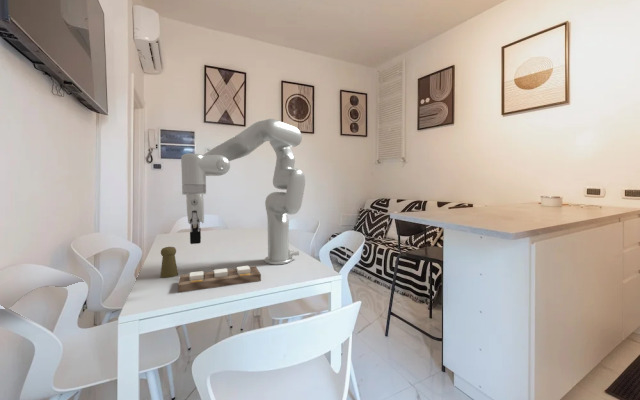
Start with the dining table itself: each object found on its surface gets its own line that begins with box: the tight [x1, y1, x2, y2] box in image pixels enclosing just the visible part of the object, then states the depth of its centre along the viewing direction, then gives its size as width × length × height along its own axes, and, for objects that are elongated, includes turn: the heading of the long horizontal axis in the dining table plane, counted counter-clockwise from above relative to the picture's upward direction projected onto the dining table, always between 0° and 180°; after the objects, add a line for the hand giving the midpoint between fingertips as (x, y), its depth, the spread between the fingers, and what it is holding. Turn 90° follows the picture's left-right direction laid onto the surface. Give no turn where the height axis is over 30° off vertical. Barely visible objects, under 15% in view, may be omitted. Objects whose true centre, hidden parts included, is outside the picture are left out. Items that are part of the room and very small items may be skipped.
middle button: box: [213, 267, 228, 278], centre depth 99 cm, size 4×4×2 cm
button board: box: [177, 265, 262, 293], centre depth 99 cm, size 27×10×3 cm, turn 114°
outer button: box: [189, 270, 204, 281], centre depth 96 cm, size 4×4×2 cm
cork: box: [160, 246, 179, 279], centre depth 105 cm, size 6×6×11 cm
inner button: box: [236, 265, 251, 275], centre depth 102 cm, size 4×4×2 cm
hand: (195, 240), depth 95 cm, fingers open, 6 cm apart
